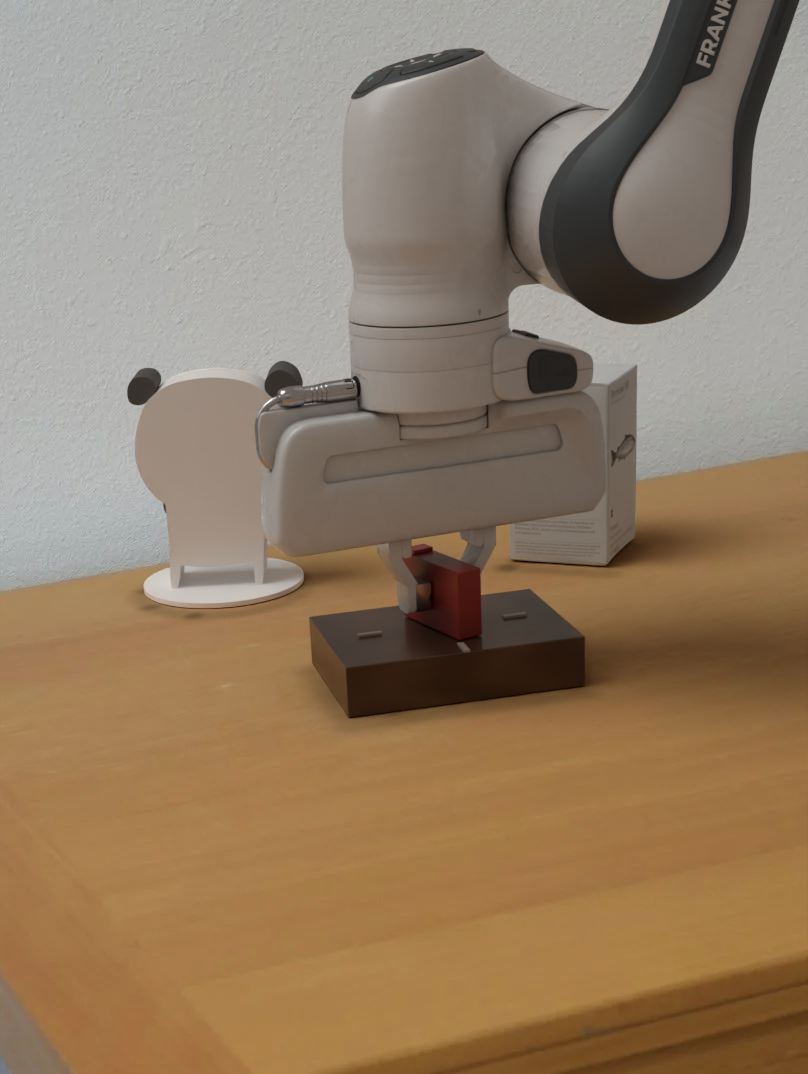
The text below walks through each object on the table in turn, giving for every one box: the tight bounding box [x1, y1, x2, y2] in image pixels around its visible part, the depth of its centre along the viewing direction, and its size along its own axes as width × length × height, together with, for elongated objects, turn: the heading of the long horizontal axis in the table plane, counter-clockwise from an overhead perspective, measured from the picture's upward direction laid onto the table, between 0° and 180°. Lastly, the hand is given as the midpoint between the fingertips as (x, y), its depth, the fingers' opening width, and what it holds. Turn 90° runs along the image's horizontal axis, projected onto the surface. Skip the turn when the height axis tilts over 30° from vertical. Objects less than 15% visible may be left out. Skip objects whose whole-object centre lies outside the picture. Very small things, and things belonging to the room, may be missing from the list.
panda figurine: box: [126, 360, 305, 609], centre depth 126 cm, size 12×11×15 cm
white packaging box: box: [508, 363, 638, 567], centre depth 128 cm, size 7×7×13 cm
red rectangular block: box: [402, 543, 482, 640], centre depth 106 cm, size 6×2×4 cm, turn 28°
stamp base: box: [308, 588, 586, 718], centre depth 108 cm, size 14×10×3 cm
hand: (439, 606), depth 107 cm, fingers closed on red rectangular block, 2 cm apart
